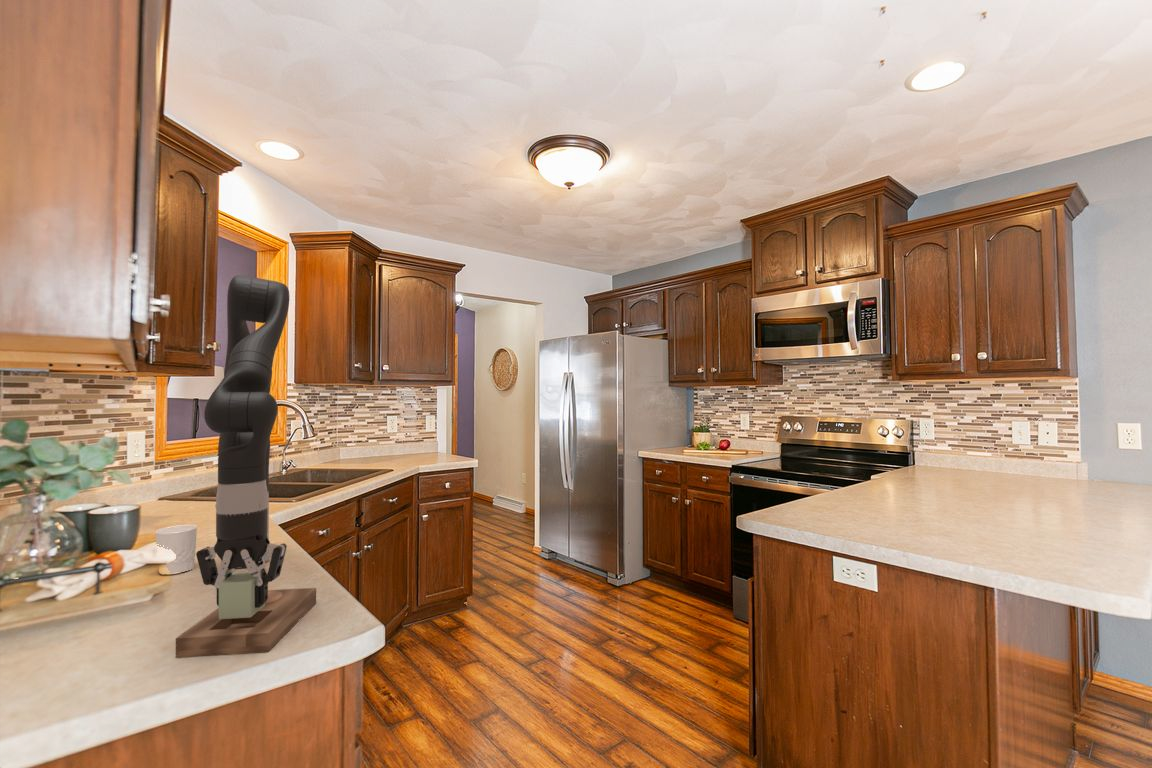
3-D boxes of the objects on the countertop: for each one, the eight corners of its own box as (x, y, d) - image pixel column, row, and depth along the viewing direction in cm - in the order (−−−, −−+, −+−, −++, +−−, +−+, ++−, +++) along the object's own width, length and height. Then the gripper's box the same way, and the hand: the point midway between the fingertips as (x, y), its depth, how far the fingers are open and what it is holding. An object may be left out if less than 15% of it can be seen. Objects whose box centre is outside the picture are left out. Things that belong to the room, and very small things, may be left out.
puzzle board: (175, 657, 84) (175, 634, 84) (241, 606, 103) (241, 588, 104) (268, 651, 85) (268, 629, 85) (316, 603, 105) (316, 584, 105)
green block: (218, 619, 88) (218, 583, 88) (234, 607, 93) (234, 572, 93) (250, 617, 88) (250, 581, 88) (264, 605, 93) (264, 571, 93)
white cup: (152, 571, 125) (152, 529, 125) (192, 563, 131) (192, 523, 131) (158, 579, 120) (159, 535, 120) (200, 570, 126) (200, 528, 126)
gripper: (295, 501, 95) (295, 596, 95) (210, 504, 94) (210, 600, 93) (276, 510, 88) (276, 613, 87) (184, 514, 86) (183, 618, 86)
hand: (242, 606), depth 90 cm, fingers closed on green block, 5 cm apart
